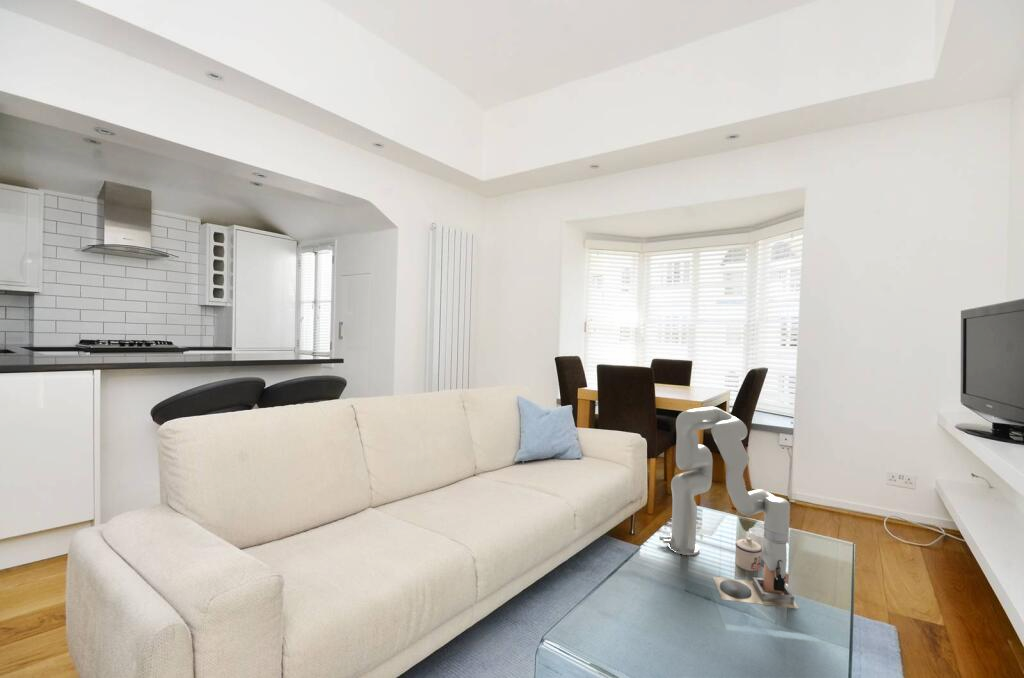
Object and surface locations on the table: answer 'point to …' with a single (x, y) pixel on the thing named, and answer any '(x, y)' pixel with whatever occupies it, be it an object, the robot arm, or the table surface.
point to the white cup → (757, 536)
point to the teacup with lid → (748, 554)
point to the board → (753, 592)
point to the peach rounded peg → (771, 580)
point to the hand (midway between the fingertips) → (773, 582)
